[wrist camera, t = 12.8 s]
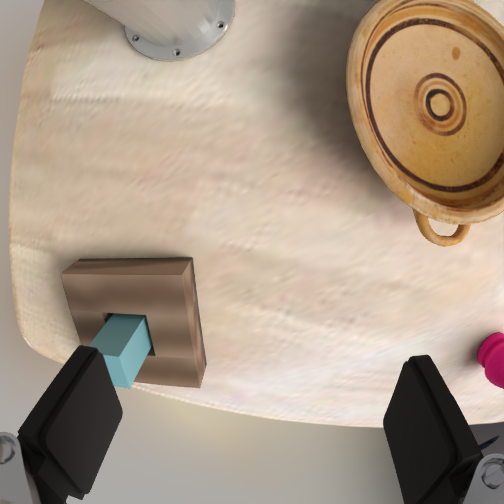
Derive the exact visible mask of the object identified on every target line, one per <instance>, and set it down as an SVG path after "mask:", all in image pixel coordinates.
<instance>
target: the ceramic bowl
mask: <svg viewBox="0 0 504 504" xmlns="http://www.w3.org/2000/svg"><path fill="white" fill-rule="evenodd" d="M345 76H346V90H347V101H348V105H349V110H350V114H351V119H352V123H353V126H354V128H355V131H356V134H357V136H358V139H359V141H360V144H361V147H362V148H363V150H364V152H365V154H366V156H367V157H368V159H369V161H370V163H371V165H372V167H373V168H374V170H375V171H376V172H377V173H378V175H379V176H380V177H381V179H382V180H383V181H384V183H385V184H386V185H387V187H388V188H389V189H390V190H391V191H393V192H394V193H395V194H396V195H397V196H398V197H399V198H400V199H401V200H402V201H403V202H404V203H406V204H407V205H409V206H410V207H412V208H413V211H414V216H415V219H416V222H417V225H418V227H419V229H420V231H421V233H422V234H423V236H424V237H425V238H426V239H427V240H429V241H430V242H432V243H434V244H437V245H440V246H444V247H445V246H451V245H455V244H457V243H459V242H461V241H462V240H463V239H464V238H465V237H466V235H467V233H468V231H469V228H470V225H471V224H474V223H478V222H483V221H486V220H488V219H490V218H492V217H495V216H497V215H499V214H500V213H501V212H503V211H504V27H503V26H502V25H501V24H500V23H499V22H498V21H497V20H496V19H495V18H494V17H493V16H492V15H491V14H490V13H488V12H487V11H486V10H484V9H483V8H481V7H480V6H478V5H477V4H476V3H474V1H473V0H380V1H378V2H377V3H375V4H374V5H373V6H372V7H371V9H370V10H369V11H368V12H367V13H366V14H365V15H364V16H363V18H362V19H361V21H360V23H359V25H358V26H357V28H356V30H355V32H354V34H353V37H352V41H351V44H350V47H349V51H348V55H347V65H346V75H345ZM428 217H430V218H432V219H434V220H436V221H440V222H445V223H450V224H459V225H458V228H457V230H456V232H455V233H454V234H453V235H452V236H440V235H437V234H436V233H435V232H434V231H433V230H432V229H431V227H430V225H429V221H428Z"/></svg>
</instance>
